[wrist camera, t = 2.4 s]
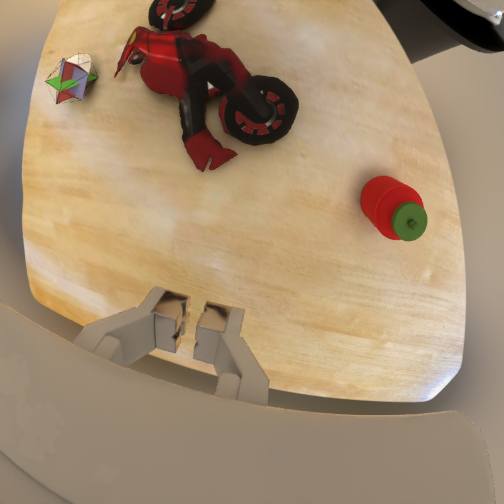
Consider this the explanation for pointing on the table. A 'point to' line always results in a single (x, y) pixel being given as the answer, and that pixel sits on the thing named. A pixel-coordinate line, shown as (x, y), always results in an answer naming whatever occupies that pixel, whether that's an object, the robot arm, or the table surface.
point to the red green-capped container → (394, 208)
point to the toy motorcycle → (208, 83)
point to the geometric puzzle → (72, 77)
